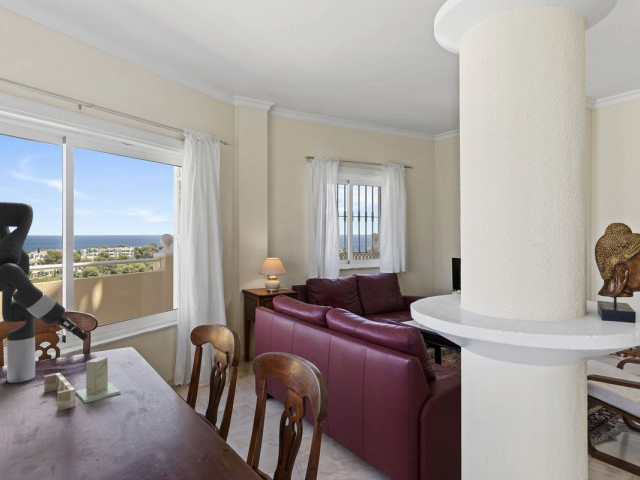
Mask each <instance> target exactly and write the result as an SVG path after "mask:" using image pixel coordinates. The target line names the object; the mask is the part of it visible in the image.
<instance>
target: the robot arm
mask: <svg viewBox="0 0 640 480" xmlns="http://www.w3.org/2000/svg"><path fill="white" fill-rule="evenodd" d="M33 220H34V210H33V206H32V205H31V204H30V203H26V202H11V201H7V202H6V201H2V202H1V201H0V293H1V317H2V320H3V322H4V323H19V322H25V323H24V324H23V325H21V326H19V327H17V328H14V329H12V330H9V331H8V332H7V334H6V360H7V361H6V371H7V372H6V373H7V374H6V376H7V377H6V379H7V380H6V381H7V383H11V384H15V383H16V384H17V383H24V382H27V381H30V380H33V379H34V378H35V377H36V334H35V333H36V329H35V327H36V326H35V325H36V323H35V322H36V319H38V320H39V321H41V322H42V323H44V324H45V325H46V326H50V325H51V326H52V325H53V324H54V323H55V325H56V326H58V327H59V328H60V329H63V330H64V331H65V332H67V333H71V334H72V335H74V336H76V337H77V338H79V339H80V340H82V341H85V340H86V339H87V338H88V337H89V336H88V334H87V333H85V332H84V331H83V330H81V328H80V327H78V326H77V324H76V323H75V322H73V321H72V320H71V318H70V317H68V316H67V315H64V313H65V312H66V308H65V307H64V306H63V305H61V304H60V303H59V302H57V301H56V300H55V299H54V298H52V297H51V296H49V295H48V294H46V293H45V292H43V291H42V290H41V289H39V288H38V287H37V286H35V284H34V283H33V282H32V281H31V279H29V277H28V275H29V274H30V271H31V270H30V267H31V266H30V265H31V264H30V256H29V254H28V252H27V251H26V249H24V244H25V241H26V239H27V237H28V235H29V232H30V230H31V227H32V224H33ZM10 228H15V229H14V230H12V231H10Z"/></svg>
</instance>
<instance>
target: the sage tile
mask: <svg viewBox="0 0 640 480" xmlns="http://www.w3.org/2000/svg"><path fill="white" fill-rule="evenodd" d="M75 395H77V397H78V398H80V400H81V401H82V402H83V404H87V403H90V402H95V401H99V400H102V399H105V398H109V397H113V396H116V395H117V396H118V395H121V390H120V389H119V388H118V387H117V386H115V385H114V384H113V383H111V382H110V381H108V389H106V390H104V391H102V392H100V393H98V394H86V387H85V388H80V389H78V390H75Z"/></svg>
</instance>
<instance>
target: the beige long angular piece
mask: <svg viewBox="0 0 640 480" xmlns="http://www.w3.org/2000/svg"><path fill="white" fill-rule="evenodd" d="M43 378H44V379H43V380H44V381H43V382H44V385H43V387H44V389H43V390H44V393H49V392H53V391H54V392H55V391H56V392H57V400H56V401H57V402H56V403H57V406H56V407H57V411H59V412H60V411H62V410H66V409H70V408H74V407H76V388H75V387H74V386H73V385H72V384H71V383H70V382H69V380H67V379H66V378H65V376H64V375H63V374H61V373H60V372H57V373H52V374H48V375H44V377H43Z"/></svg>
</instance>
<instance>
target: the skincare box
mask: <svg viewBox="0 0 640 480" xmlns="http://www.w3.org/2000/svg"><path fill="white" fill-rule="evenodd" d="M85 365H86V366H85V368H86V369H85V371H86V372H85V377H86V379H85V381H86V385H85V388H86V394H98V393H100V392H102V391H104V390H106V389H108V383H109V381H108V380H109V379H108V377H109V376H108V371H109V370H108V365H109V364H108V357H106V356H97V357H95V358H92V359H89V360H87V361H86V362H85Z"/></svg>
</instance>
